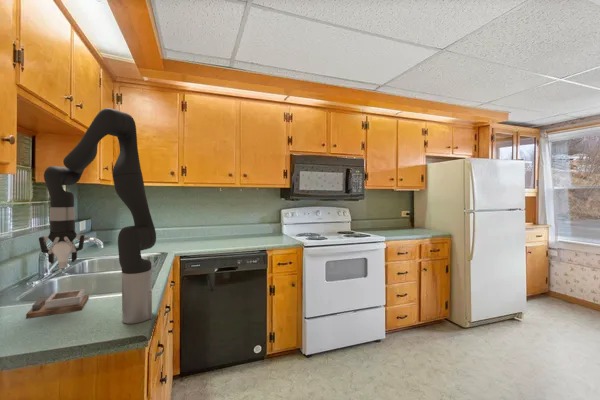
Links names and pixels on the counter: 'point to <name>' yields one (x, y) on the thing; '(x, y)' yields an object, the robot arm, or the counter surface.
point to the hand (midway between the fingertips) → (63, 262)
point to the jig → (59, 303)
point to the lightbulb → (62, 253)
